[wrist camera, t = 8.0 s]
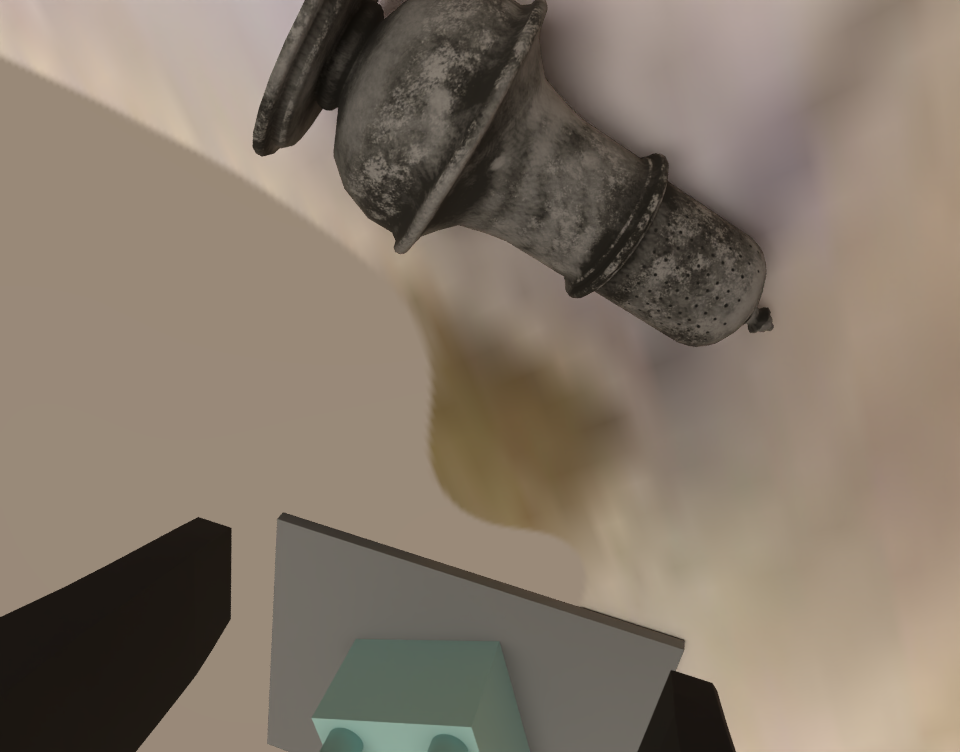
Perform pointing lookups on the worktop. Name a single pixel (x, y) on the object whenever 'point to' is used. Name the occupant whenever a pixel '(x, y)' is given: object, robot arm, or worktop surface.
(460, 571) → the mat
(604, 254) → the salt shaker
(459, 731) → the stool
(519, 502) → the worktop surface
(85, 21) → the worktop surface
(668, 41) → the worktop surface
